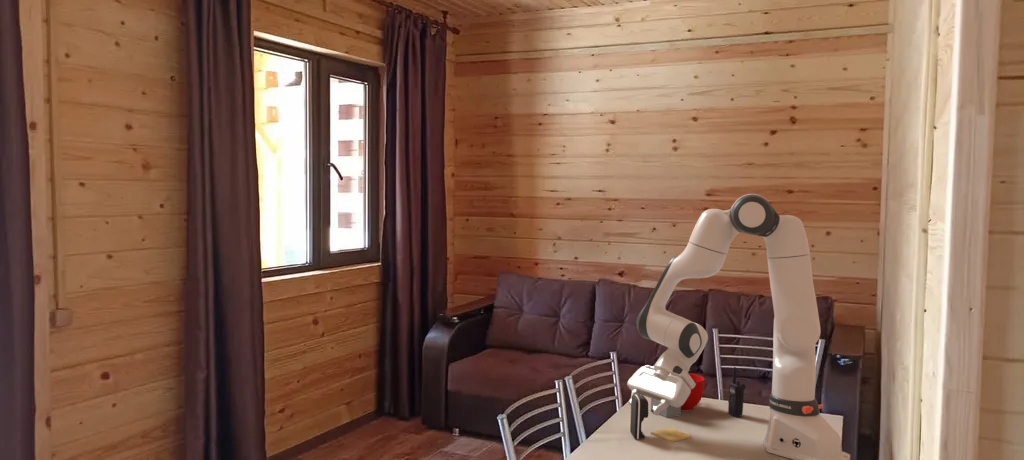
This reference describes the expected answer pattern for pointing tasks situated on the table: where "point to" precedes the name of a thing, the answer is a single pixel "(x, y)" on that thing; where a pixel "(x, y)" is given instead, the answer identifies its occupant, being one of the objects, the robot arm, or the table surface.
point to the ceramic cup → (694, 393)
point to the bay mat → (671, 434)
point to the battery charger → (638, 415)
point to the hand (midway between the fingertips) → (642, 409)
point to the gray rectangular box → (668, 411)
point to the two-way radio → (736, 396)
